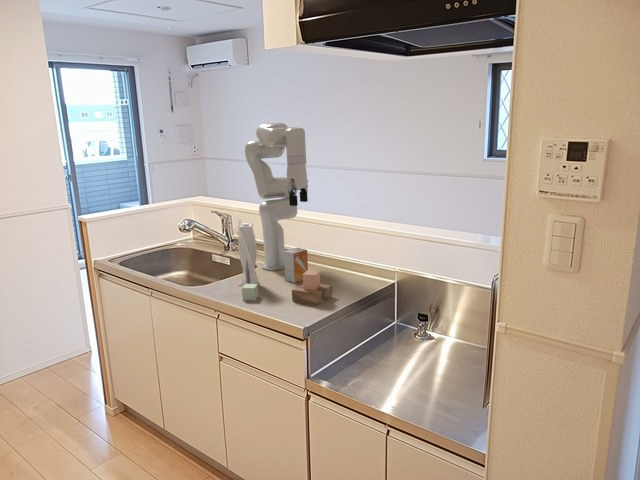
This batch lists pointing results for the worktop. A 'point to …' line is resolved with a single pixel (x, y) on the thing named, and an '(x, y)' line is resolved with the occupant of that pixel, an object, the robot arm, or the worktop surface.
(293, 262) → the small box
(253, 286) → the sage cube
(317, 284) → the terracotta block
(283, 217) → the robot arm
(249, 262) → the skyscraper
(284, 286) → the worktop surface
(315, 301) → the walnut block
